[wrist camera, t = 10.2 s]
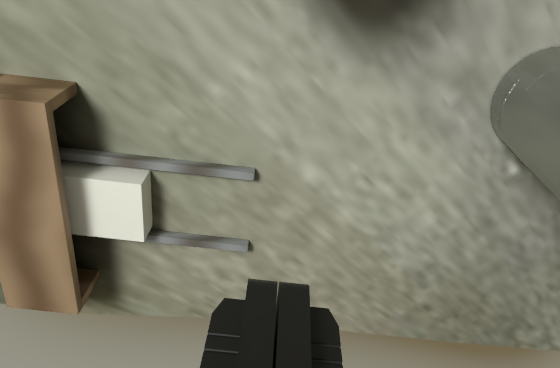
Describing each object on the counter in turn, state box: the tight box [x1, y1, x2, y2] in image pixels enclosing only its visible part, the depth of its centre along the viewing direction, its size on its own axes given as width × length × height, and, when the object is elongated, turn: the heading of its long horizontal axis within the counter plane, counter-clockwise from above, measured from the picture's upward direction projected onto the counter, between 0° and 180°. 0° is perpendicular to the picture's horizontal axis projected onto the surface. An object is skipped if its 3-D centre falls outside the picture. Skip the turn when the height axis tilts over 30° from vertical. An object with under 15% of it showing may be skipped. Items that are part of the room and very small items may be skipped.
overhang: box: [0, 74, 255, 314], centre depth 42 cm, size 23×22×6 cm
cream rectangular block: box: [60, 160, 153, 242], centre depth 43 cm, size 12×6×3 cm, turn 84°
